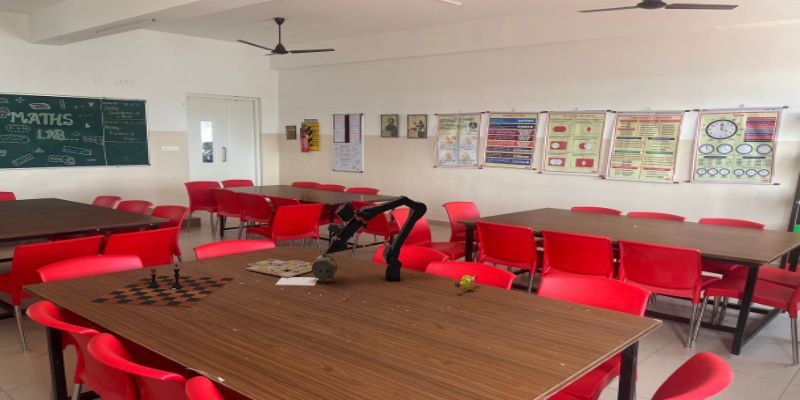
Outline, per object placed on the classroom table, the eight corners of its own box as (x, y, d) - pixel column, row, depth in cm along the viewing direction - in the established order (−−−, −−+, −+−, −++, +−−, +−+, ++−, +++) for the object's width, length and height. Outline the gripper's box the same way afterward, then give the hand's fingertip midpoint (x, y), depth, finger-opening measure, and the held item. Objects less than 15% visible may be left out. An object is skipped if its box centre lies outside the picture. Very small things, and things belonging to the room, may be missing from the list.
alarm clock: (337, 279, 231) (337, 246, 227) (335, 284, 226) (334, 250, 222) (314, 278, 232) (313, 244, 228) (310, 283, 227) (309, 249, 223)
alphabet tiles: (327, 267, 256) (327, 264, 255) (287, 278, 232) (287, 275, 232) (279, 258, 273) (279, 256, 273) (237, 268, 250) (237, 265, 250)
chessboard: (234, 280, 231) (233, 256, 229) (189, 308, 191) (188, 280, 190) (150, 277, 234) (149, 254, 233) (89, 304, 195) (88, 276, 194)
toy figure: (462, 296, 212) (462, 280, 211) (450, 294, 215) (451, 278, 214) (482, 287, 226) (483, 272, 225) (471, 285, 229) (472, 270, 228)
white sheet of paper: (318, 278, 235) (318, 277, 235) (314, 285, 223) (314, 284, 223) (281, 277, 235) (281, 277, 235) (275, 285, 223) (275, 284, 223)
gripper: (336, 213, 235) (311, 237, 234) (340, 219, 217) (313, 245, 215) (353, 230, 237) (328, 253, 236) (358, 237, 219) (332, 263, 218)
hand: (325, 253), depth 226 cm, fingers closed
